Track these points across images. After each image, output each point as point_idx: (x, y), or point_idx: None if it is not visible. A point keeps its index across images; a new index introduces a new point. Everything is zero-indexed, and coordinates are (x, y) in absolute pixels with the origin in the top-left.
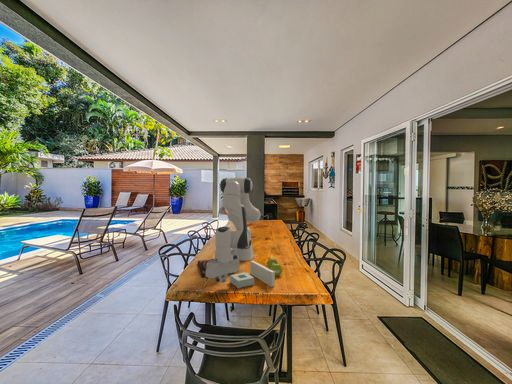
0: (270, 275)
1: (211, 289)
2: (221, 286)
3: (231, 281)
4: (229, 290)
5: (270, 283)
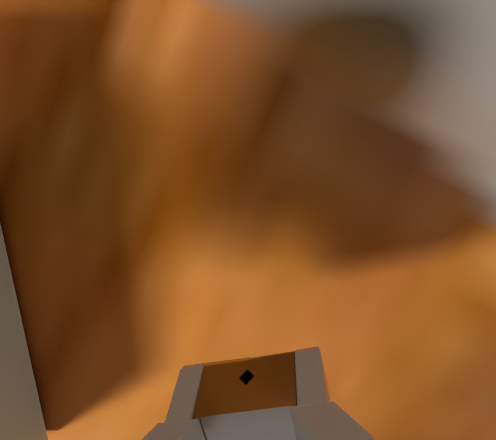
0: None
1: (480, 345)
2: None
3: (25, 422)
4: (189, 131)
5: None
